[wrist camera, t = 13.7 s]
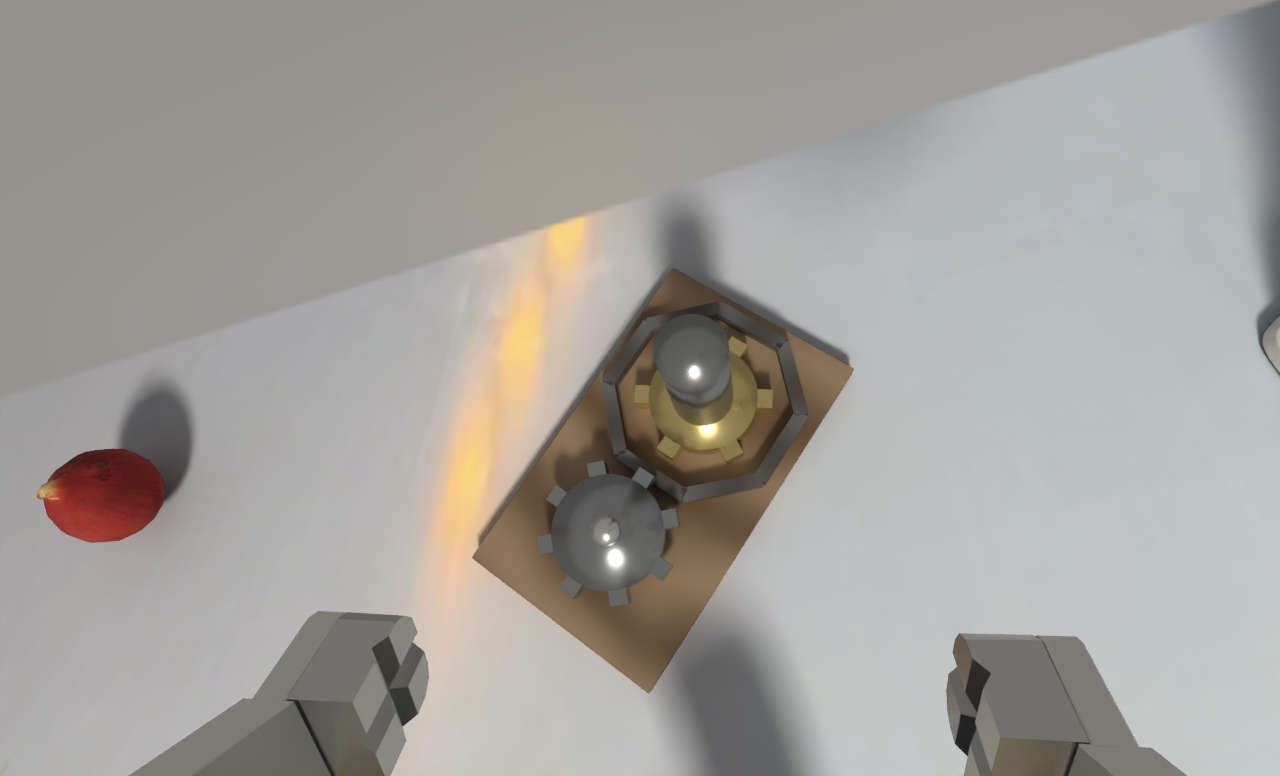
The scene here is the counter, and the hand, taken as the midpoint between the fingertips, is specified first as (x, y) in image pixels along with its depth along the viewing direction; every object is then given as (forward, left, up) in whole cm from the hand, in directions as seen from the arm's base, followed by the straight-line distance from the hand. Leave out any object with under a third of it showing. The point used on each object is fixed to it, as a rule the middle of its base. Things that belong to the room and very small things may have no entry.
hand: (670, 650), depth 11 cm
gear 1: (+1, -8, -30) cm, 31 cm away
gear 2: (-9, -8, -30) cm, 32 cm away
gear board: (-4, -8, -31) cm, 33 cm away
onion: (+17, -36, -32) cm, 50 cm away
